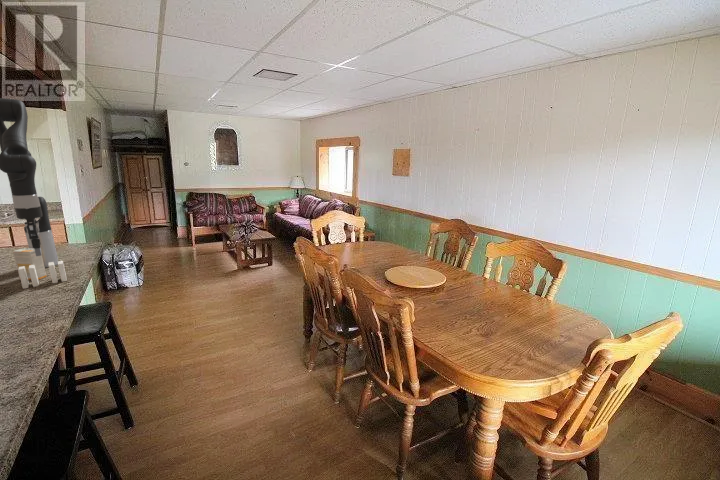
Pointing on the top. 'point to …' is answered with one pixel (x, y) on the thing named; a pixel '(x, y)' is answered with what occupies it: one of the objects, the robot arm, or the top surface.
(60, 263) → the ivory domino
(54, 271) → the ivory domino
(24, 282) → the ivory domino
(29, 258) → the supplement box
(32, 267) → the ivory domino
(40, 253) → the charcoal domino
